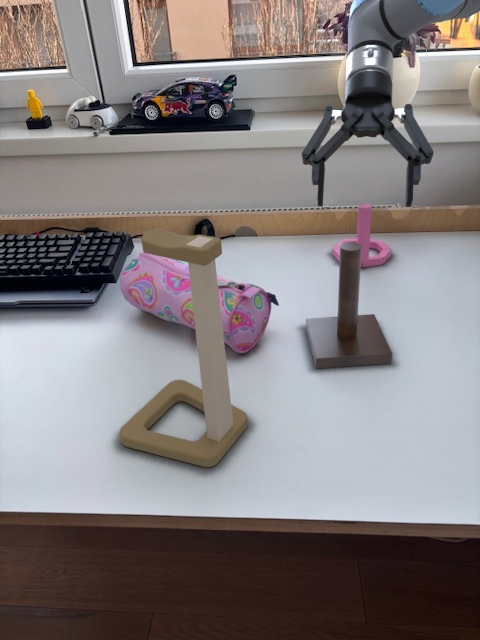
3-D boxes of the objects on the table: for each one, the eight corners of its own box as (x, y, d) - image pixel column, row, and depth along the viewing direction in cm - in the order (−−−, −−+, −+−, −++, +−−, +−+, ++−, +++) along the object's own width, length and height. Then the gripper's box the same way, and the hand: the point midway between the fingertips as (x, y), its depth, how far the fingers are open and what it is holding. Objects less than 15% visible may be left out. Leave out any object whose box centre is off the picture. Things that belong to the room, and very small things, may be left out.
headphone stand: (176, 385, 63) (147, 205, 52) (258, 414, 58) (247, 221, 47) (115, 443, 56) (66, 247, 44) (203, 481, 51) (174, 271, 39)
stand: (373, 323, 72) (380, 228, 65) (391, 363, 64) (401, 260, 57) (305, 328, 72) (305, 233, 65) (315, 368, 65) (316, 266, 57)
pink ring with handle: (331, 268, 87) (333, 208, 81) (333, 243, 95) (335, 187, 89) (392, 269, 85) (397, 208, 80) (389, 243, 93) (394, 186, 88)
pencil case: (281, 333, 71) (279, 272, 67) (236, 368, 66) (231, 303, 61) (168, 291, 84) (160, 236, 79) (122, 317, 78) (110, 259, 73)
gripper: (291, 71, 88) (282, 191, 83) (453, 64, 83) (453, 192, 79) (294, 99, 95) (286, 212, 91) (444, 94, 90) (443, 213, 86)
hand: (363, 203), depth 85 cm, fingers open, 13 cm apart
